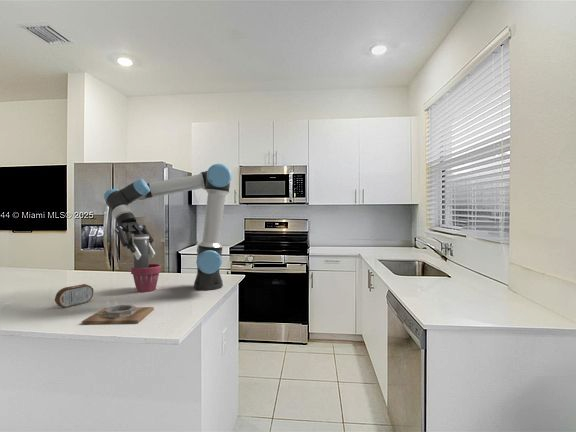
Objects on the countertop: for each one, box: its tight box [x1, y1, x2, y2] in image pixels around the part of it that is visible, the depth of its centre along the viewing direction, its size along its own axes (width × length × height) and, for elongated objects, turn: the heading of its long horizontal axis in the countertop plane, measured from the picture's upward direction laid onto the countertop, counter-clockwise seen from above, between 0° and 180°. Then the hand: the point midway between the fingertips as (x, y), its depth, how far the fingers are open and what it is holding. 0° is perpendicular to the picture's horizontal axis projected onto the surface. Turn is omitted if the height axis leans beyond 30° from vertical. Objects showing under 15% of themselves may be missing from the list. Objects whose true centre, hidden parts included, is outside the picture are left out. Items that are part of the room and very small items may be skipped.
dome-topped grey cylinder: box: [133, 233, 150, 268], centre depth 139 cm, size 6×6×14 cm
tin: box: [54, 283, 95, 308], centre depth 141 cm, size 15×3×8 cm, turn 151°
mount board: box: [81, 304, 155, 325], centre depth 126 cm, size 20×16×3 cm
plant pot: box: [130, 263, 162, 293], centre depth 167 cm, size 14×14×13 cm
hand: (146, 256), depth 137 cm, fingers closed on dome-topped grey cylinder, 6 cm apart
